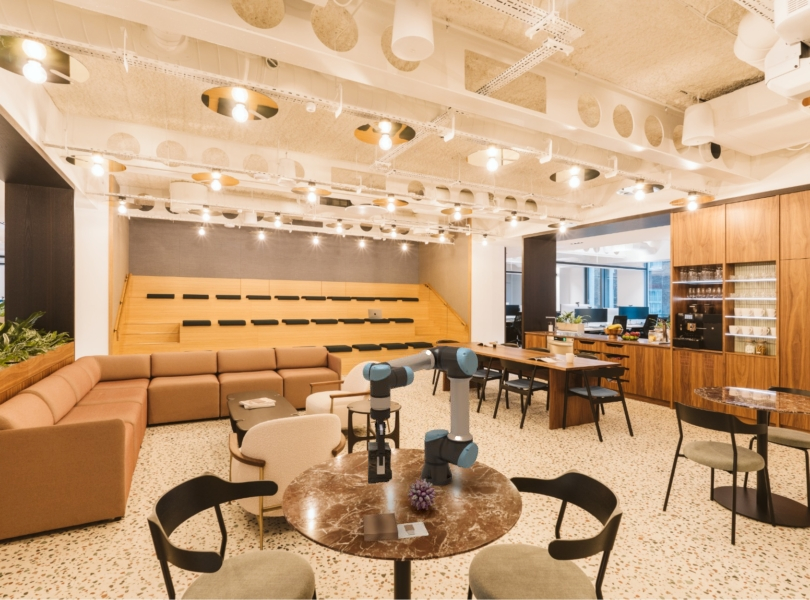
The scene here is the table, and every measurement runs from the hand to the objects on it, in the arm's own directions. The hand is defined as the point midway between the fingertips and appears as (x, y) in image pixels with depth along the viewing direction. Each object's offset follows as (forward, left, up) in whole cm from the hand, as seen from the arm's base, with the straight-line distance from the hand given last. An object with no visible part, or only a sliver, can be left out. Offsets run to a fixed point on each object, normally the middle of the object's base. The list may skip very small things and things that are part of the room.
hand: (380, 469), depth 152 cm
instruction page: (-11, +1, -23) cm, 25 cm away
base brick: (0, 0, -23) cm, 23 cm away
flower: (-18, -14, -23) cm, 33 cm away
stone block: (0, 0, -5) cm, 5 cm away
